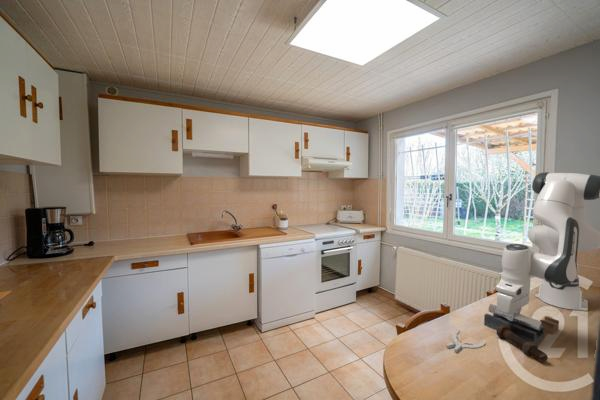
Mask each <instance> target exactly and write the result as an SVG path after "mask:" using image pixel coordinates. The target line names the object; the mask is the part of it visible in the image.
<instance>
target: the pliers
mask: <svg viewBox="0 0 600 400" xmlns="http://www.w3.org/2000/svg"><path fill="white" fill-rule="evenodd" d="M460 331H461V330H456V331H453V333H452V336H451V340H452V342H451V341H450V342H448V343H447V344H446V345H445V348H446V349H452V348H454V353H455V354H457V353H458V352H460V351H461V349H479V348H483V347H485V345H486V342H485V341H483V342H481V343H478V344H475V343H470V342H463V344H462V340H461V338H460V337H459V336H458V334H459V333H460Z"/></svg>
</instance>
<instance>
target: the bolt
mask: <svg viewBox="0 0 600 400" xmlns="http://www.w3.org/2000/svg"><path fill="white" fill-rule="evenodd" d="M496 335H497V337H498V338H499V339H500V340H506V341H507V340H508V341H509V342H510V343H512V344H514V345H515V346H517V347H518V348H520V349H521V350H522V352H523V354H524V355H525V356H527V357H532V358H534V359H536V360H537V361H539V362H541V363H545V362H547V360H548V358H549V357H548V355H547V353H545V352H544V351H542V350H541V349H539V347H538V345H537V344H534V343H533V342H527V341H525V340H523V339H522V338H520V337H519V336H517V335H516V334H514V333H513V332H512V331H511V328H510V327H509V326H508V325H500V326H499V327H498V328H497V330H496Z"/></svg>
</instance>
